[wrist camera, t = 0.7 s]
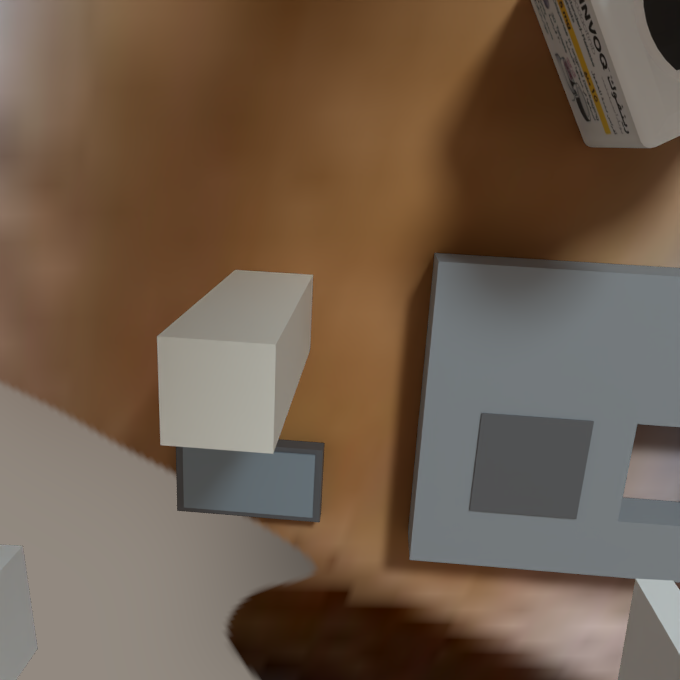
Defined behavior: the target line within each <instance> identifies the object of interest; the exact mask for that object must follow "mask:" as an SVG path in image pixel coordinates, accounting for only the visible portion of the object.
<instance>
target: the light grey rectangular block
mask: <svg viewBox="0 0 680 680" xmlns="http://www.w3.org/2000/svg"><path fill="white" fill-rule="evenodd" d="M312 291H313V275H308V274H293V273H277V272H261V271H246V270H234V271H233V272H232V273H231V274H230V275H229V276H227V277H226V278H225V279H224V280H223V281H221V282H220V283H219V284H218V285H217V286H216V287H214V288H213V289H212V290H211V291H210V292H209V293H207V294H206V295H205V296H204V297H203V298H201V299H200V300H199V301H198V302H197V303H196V304H194V305H193V306H192V307H191V308H190V309H189V310H187V311H186V312H185V313H184V314H183V315H182V316H180V317H179V318H178V319H177V320H176V321H174V322H173V323H172V324H171V325H170V326H169V327H167V328H166V329H165V330H164V331H163V332H162V333H160V334H159V335H158V336H157V352H158V384H159V415H160V445H165V446H178V447H191V448H204V449H217V450H230V451H243V452H256V453H269V454H273V453H274V450H275V447H276V445H277V442H278V439H279V436H280V433H281V430H282V428H283V425H284V422H285V419H286V416H287V414H288V411H289V408H290V405H291V402H292V399H293V397H294V394H295V391H296V388H297V385H298V383H299V380H300V377H301V374H302V371H303V368H304V366H305V363H306V360H307V357H308V354H309V351H310V340H311V316H312Z"/></svg>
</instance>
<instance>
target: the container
mask: <svg viewBox="0 0 680 680" xmlns="http://www.w3.org/2000/svg"><path fill="white" fill-rule="evenodd" d="M531 3H532V5H533V8H534V11H535V13H536V16H537V19H538V21H539V24H540V27H541V29H542V32H543V35H544V37H545V40H546V43H547V45H548V48H549V50H550V53H551V56H552V58H553V61H554V64H555V66H556V69H557V72H558V74H559V77H560V80H561V82H562V85H563V88H564V90H565V93H566V96H567V98H568V101H569V103H570V106H571V109H572V111H573V114H574V117H575V119H576V122H577V125H578V127H579V130H580V133H581V135H582V138H583V141H584V143H585V144H586V145H587V146H589V147H606V148H653V147H657V146H659V145H661V144H663V143H665V142H667V141H670V140H672V139H674V138H676V137H678V136H680V0H531Z"/></svg>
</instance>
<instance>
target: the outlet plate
mask: <svg viewBox="0 0 680 680" xmlns="http://www.w3.org/2000/svg"><path fill="white" fill-rule="evenodd" d="M637 424H643V425H656V426H670V427H680V268H670V267H654V266H638V265H622V264H605V263H589V262H573V261H557V260H541V259H525V258H509V257H493V256H477V255H460V254H444V253H435V254H434V265H433V275H432V286H431V296H430V307H429V317H428V328H427V338H426V349H425V359H424V370H423V380H422V391H421V401H420V412H419V422H418V433H417V443H416V454H415V464H414V475H413V485H412V496H411V506H410V517H409V527H408V542H409V558H410V560H418V561H430V562H441V563H453V564H465V565H477V566H489V567H501V568H513V569H525V570H537V571H549V572H560V573H572V574H584V575H596V576H608V577H620V578H632V579H653V580H672V581H674V582H679V583H680V502H673V501H660V500H647V499H635V498H623V493H624V488H625V483H626V478H627V473H628V468H629V463H630V458H631V453H632V448H633V443H634V438H635V433H636V428H637Z"/></svg>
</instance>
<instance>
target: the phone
mask: <svg viewBox="0 0 680 680" xmlns="http://www.w3.org/2000/svg"><path fill="white" fill-rule="evenodd" d="M323 462H324V443H317V442H304V441H291V440H278V442H277V445H276V447H275V450H274V453H273V454H269V453H256V452H243V451H230V450H217V449H204V448H191V447H178V446H176V471H177V510H178V511H189V512H201V513H213V514H225V515H237V516H249V517H261V518H274V519H286V520H298V521H310V522H320V516H321V503H322V483H323Z"/></svg>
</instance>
